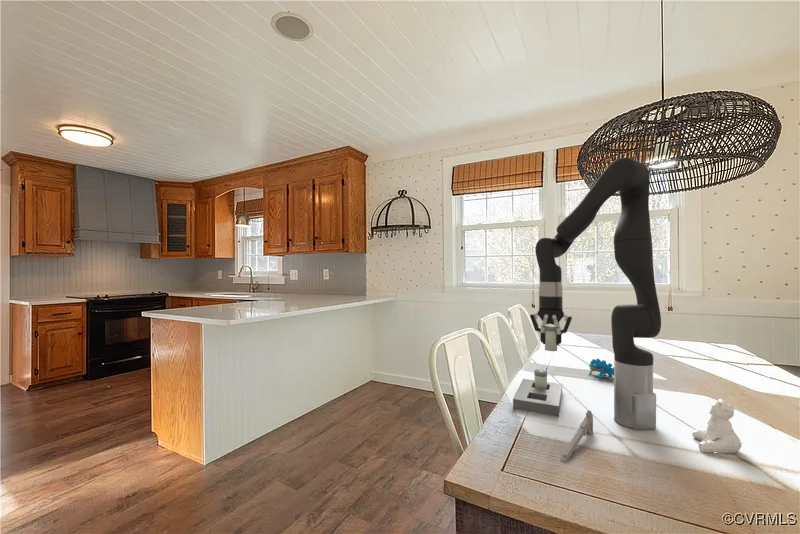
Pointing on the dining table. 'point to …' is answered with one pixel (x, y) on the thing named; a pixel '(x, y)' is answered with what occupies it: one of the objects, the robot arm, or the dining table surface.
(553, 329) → the pale green canister
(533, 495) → the dining table surface
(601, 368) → the blue spiky dinosaur toy
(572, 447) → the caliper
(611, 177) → the robot arm
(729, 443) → the white creature statuette
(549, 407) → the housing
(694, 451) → the dining table surface
